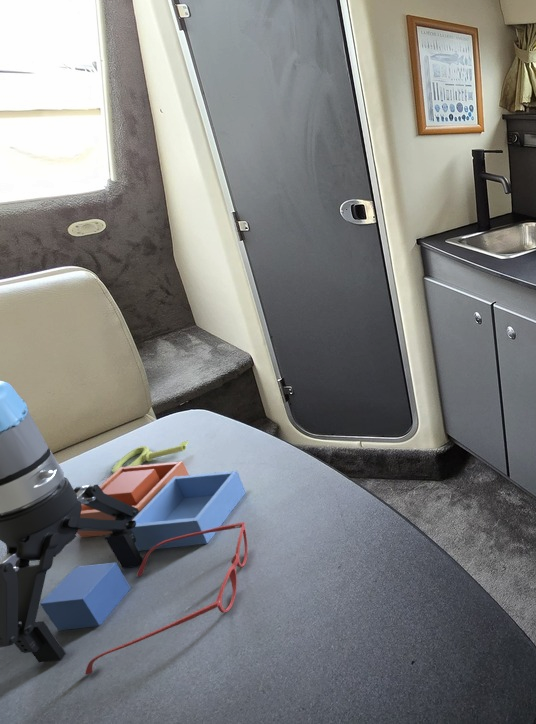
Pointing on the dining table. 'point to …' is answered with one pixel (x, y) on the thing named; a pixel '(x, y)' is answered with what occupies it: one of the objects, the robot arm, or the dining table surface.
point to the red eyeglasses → (218, 603)
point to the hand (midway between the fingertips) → (96, 607)
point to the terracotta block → (132, 486)
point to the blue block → (86, 596)
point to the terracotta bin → (165, 475)
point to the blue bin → (187, 509)
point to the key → (148, 455)
